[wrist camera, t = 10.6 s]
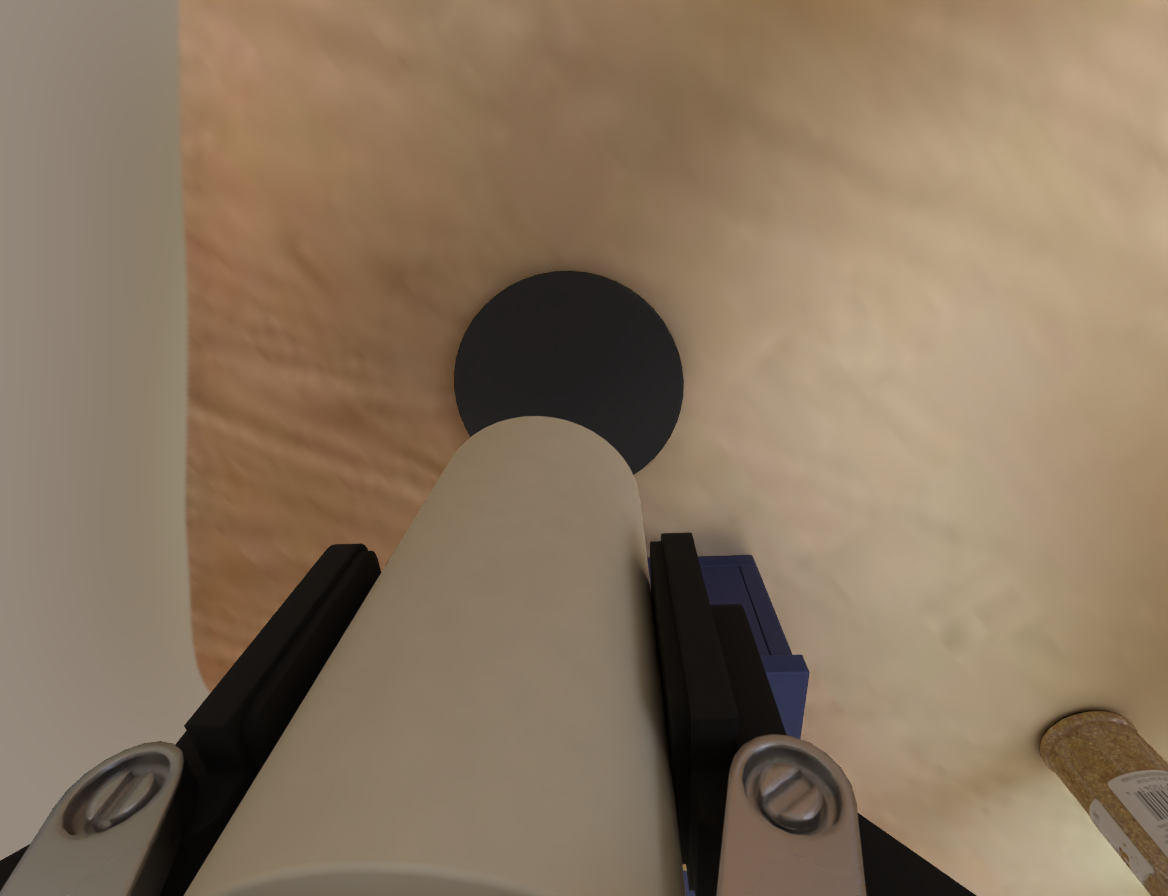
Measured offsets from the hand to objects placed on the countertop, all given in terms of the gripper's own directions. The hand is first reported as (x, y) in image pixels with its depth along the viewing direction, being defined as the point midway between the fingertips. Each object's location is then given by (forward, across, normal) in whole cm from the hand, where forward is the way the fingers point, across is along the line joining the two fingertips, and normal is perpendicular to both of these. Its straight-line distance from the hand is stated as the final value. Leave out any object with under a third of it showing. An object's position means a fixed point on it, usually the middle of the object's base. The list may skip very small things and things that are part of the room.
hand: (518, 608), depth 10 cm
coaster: (+13, 0, 0) cm, 13 cm away
